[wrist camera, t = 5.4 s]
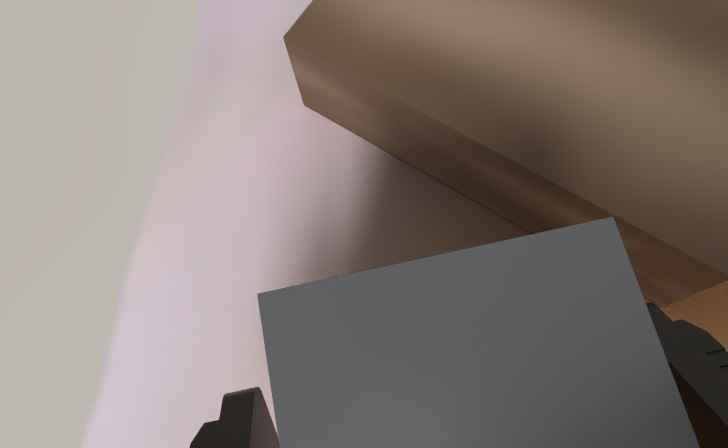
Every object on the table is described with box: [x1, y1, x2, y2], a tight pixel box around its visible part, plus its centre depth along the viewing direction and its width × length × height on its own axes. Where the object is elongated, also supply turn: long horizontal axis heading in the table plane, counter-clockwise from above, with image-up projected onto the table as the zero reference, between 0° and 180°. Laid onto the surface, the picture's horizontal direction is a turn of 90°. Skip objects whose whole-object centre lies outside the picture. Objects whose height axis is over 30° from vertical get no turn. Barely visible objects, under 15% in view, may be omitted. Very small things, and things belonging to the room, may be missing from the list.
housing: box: [257, 217, 700, 448], centre depth 13 cm, size 6×6×10 cm
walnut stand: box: [283, 0, 728, 307], centre depth 19 cm, size 14×14×4 cm
